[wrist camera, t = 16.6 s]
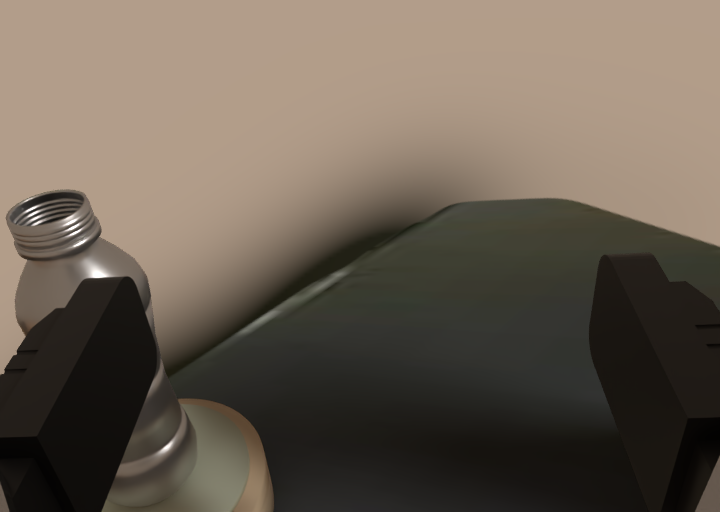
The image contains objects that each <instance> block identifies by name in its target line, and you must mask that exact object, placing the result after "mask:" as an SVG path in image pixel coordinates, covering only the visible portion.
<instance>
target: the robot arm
mask: <svg viewBox="0 0 720 512" xmlns="http://www.w3.org/2000/svg"><path fill="white" fill-rule="evenodd" d="M589 344H590V351H591V356H592V360H593V363H594V366H595V369H596V371H597V374H598V377H599V380H600V382H601V385H602V388H603V390H604V393H605V396H606V398H607V401H608V404H609V407H610V409H611V412H612V415H613V417H614V420H615V423H616V425H617V428H618V431H619V433H620V436H621V439H622V442H623V444H624V447H625V450H626V452H627V455H628V458H629V460H630V463H631V466H632V468H633V471H634V474H635V477H636V479H637V482H638V485H639V487H640V490H641V493H642V495H643V498H644V501H645V504H646V506H647V509H648V512H720V312H719V310H718V309H717V307H716V306H715V304H714V303H713V301H712V300H711V299H709V298H708V297H707V296H705V295H704V294H703V293H701V292H700V291H699V290H697V289H696V288H694V287H693V286H692V285H690V284H689V283H688V282H686V281H682V282H669V280H668V279H667V277H666V275H665V274H664V272H663V270H662V268H661V267H660V265H659V263H658V262H657V260H656V258H655V257H654V255H652V254H651V253H632V254H611V255H603V256H602V257H601V259H600V261H599V265H598V271H597V278H596V285H595V291H594V298H593V305H592V311H591V318H590V325H589ZM156 367H157V349H156V343H155V340H154V337H153V334H152V331H151V328H150V325H149V322H148V319H147V316H146V313H145V310H144V307H143V304H142V301H141V298H140V295H139V292H138V289H137V286H136V284H135V282H134V280H133V279H132V278H131V277H129V276H122V277H101V278H86V279H84V280H83V281H81V283H80V284H79V286H78V287H77V289H76V291H75V292H74V294H73V295H72V297H71V299H70V300H69V302H68V304H67V305H66V307H65V308H55V309H54V310H53V311H52V312H51V313H49V314H48V315H47V316H46V317H44V318H43V319H42V320H41V321H40V322H38V323H37V324H36V325H35V326H34V327H32V328H31V330H30V331H29V333H28V334H27V336H26V337H25V339H24V340H23V342H22V343H21V345H20V346H19V348H18V349H17V355H14V356H13V357H12V358H11V360H10V362H9V363H8V365H7V366H6V368H5V369H4V370H5V373H4V374H1V375H0V512H102V509H103V507H104V504H105V502H106V499H107V497H108V494H109V491H110V489H111V486H112V484H113V481H114V479H115V476H116V474H117V471H118V469H119V466H120V463H121V461H122V458H123V456H124V453H125V451H126V448H127V446H128V443H129V440H130V438H131V435H132V433H133V430H134V428H135V425H136V423H137V420H138V417H139V415H140V412H141V410H142V407H143V405H144V402H145V400H146V397H147V395H148V392H149V389H150V387H151V384H152V382H153V379H154V376H155V373H156Z"/></svg>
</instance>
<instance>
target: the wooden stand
mask: <svg viewBox="0 0 720 512" xmlns="http://www.w3.org/2000/svg"><path fill="white" fill-rule="evenodd" d="M177 400H178V402H179V403H180V404H181V406H182V407H183V408H184V410H185V411H186V413H187V415H188V417H189V419H190V421H191V423H192V425H193V427H194V428H195V431H196V436H197V450H198V453H197V461H196V464H195V467H194V469H193V471H192V473H191V474H190V476H189V478H188V479H187V481H186V482H185V483H184V484H183V486H182V487H181V488H180V489H179V490H177V491H176V492H175V493H174V494H173V495H171V496H170V497H168V498H166V499H164V500H162V501H160V502H158V503H155V504H152V505H149V506H143V507H129V506H123V505H117V504H115V503H112V502H110V501H108V500H107V499H106V502H105V504H104V507H103V509H102V512H273V511H274V492H273V487H272V482H271V478H270V474H269V469H268V465H267V461H266V457H265V453H264V449H263V445H262V442H261V440H260V437H259V435H258V433H257V432H256V430H255V428H254V427H253V426H252V425H251V423H250V422H249V421H248V420H247V419H246V418H245V417H244V416H242V415H241V414H240V413H238V412H237V411H235V410H233V409H232V408H230V407H227V406H225V405H223V404H220V403H216V402H213V401H208V400H202V399H177Z"/></svg>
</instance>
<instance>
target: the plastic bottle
mask: <svg viewBox="0 0 720 512" xmlns="http://www.w3.org/2000/svg"><path fill="white" fill-rule="evenodd" d="M6 220H7V225H8V227H9V229H10V231H11V233H12V235H13V238H14V240H15V241H14V245H15V248H16V250H17V252H18V254H19V255H20V256H21V257H22V258H24V259H27V263H26V265H25V267H24V270H23V272H22V275H21V277H20V281H19V284H18V288H17V291H16V296H15V310H16V318H17V321H18V324H19V326H20V327H21V329H22V331H23V332H24V334H25V336H27V334H28V333H29V331H30V330H31V328H32V327H34V326H35V325H36V324H37V323H38V322H40V321H41V320H42V319H43V318H44V317H46V316H47V315H48V314H49V313H51V312H52V311H53V310H54V309H55V308H65V307H66V305H67V304H68V302H69V300H70V299H71V297H72V295H73V294H74V292H75V291H76V289H77V287H78V286H79V284H80V283H81V281H83V280H84V279H86V278H101V277H122V276H129V277H131V278H132V279H133V280H134V282H135V284H136V286H137V289H138V292H139V295H140V298H141V301H142V304H143V307H144V310H145V313H146V316H147V319H148V322H149V325H150V328H151V331H152V334H153V337H154V340H155V343H156V349H157V367H156V373H155V376H154V379H153V382H152V384H151V387H150V389H149V392H148V395H147V397H146V400H145V402H144V405H143V407H142V410H141V412H140V415H139V417H138V420H137V423H136V425H135V428H134V430H133V433H132V435H131V438H130V440H129V443H128V446H127V448H126V451H125V453H124V456H123V458H122V461H121V463H120V466H119V469H118V471H117V474H116V476H115V479H114V481H113V484H112V486H111V489H110V491H109V494H108V497H107V500H108V501H110V502H112V503H115V504H117V505H123V506H129V507H143V506H149V505H152V504H155V503H158V502H160V501H162V500H164V499H166V498H168V497H170V496H171V495H173V494H174V493H175V492H176V491H177V490H179V489H180V488H181V487H182V486H183V484H184V483H185V482H186V481H187V479H188V478H189V476H190V474H191V473H192V471H193V469H194V467H195V464H196V461H197V453H198V450H197V436H196V431H195V428H194V427H193V425H192V423H191V421H190V419H189V417H188V415H187V413H186V411H185V410H184V408H183V407H182V406H181V404H180V403H179V402H178V400H177V397H176V395H175V393H174V391H173V388H172V386H171V384H170V382H169V380H168V377H167V375H166V373H165V371H164V366H163V363H162V358H161V355H160V350H159V346H158V342H157V338H156V334H155V327H154V318H153V310H152V302H151V294H150V288H149V284H148V279H147V276H146V274H145V272H144V271H143V269H142V268H141V267H140V265H139V264H138V263H137V262H136V260H135V259H134V258H133V257H131V256H130V255H129V254H127V253H126V252H124V251H123V250H121V249H120V248H118V247H117V246H115V245H114V244H112V243H110V242H108V241H106V240H104V239H102V238H100V237H99V236H100V234H101V226H100V223H99V220H98V219H97V217H96V216H94V213H93V210H92V208H91V205H90V202H89V200H88V199H87V197H86V195H85V194H84V193H82V192H79V191H76V190H55V191H50V192H45V193H41V194H38V195H35V196H32V197H30V198H27V199H25V200H23V201H21V202H20V203H18V204H17V205H15V206H14V207H13V208H11V210H10V211H9V212H8V214H7V216H6Z"/></svg>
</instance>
